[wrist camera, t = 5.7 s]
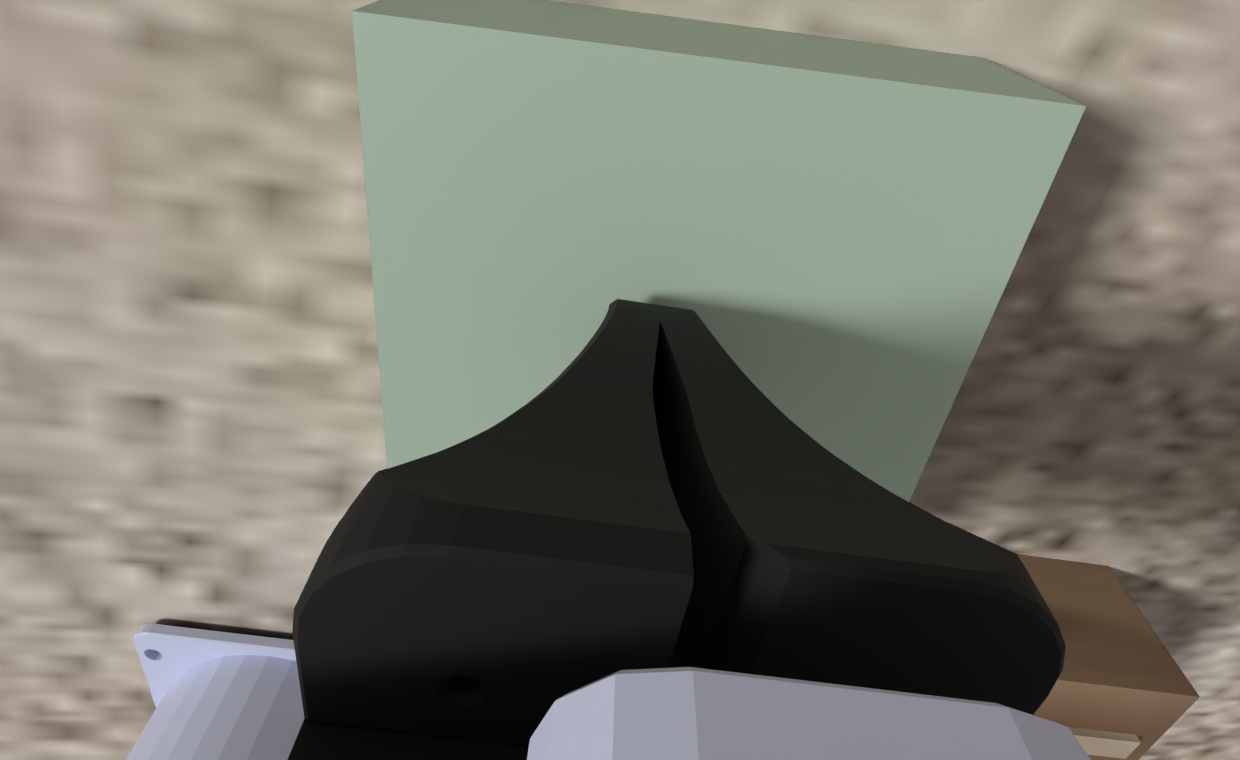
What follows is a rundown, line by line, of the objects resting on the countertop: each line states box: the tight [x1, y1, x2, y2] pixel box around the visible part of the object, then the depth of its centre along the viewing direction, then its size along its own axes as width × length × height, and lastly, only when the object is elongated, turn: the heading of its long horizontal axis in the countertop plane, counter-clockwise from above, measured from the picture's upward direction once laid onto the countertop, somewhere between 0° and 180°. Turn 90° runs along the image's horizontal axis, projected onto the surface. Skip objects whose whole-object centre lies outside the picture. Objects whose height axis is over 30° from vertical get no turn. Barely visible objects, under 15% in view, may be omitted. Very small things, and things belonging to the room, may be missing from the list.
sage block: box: [352, 0, 1086, 502], centre depth 14 cm, size 10×10×4 cm
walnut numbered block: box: [1017, 554, 1199, 760], centre depth 19 cm, size 4×4×4 cm
